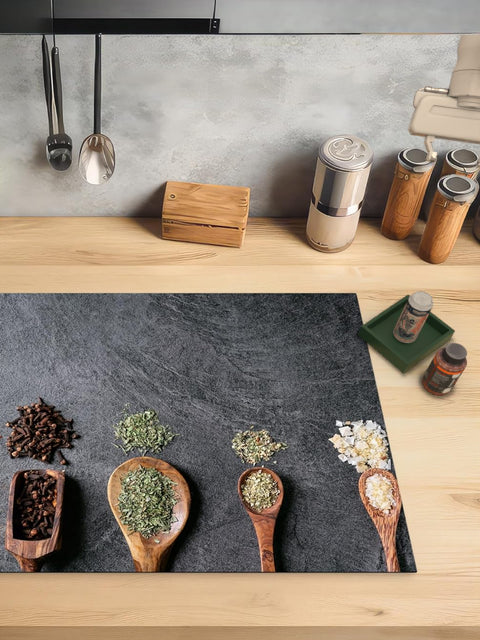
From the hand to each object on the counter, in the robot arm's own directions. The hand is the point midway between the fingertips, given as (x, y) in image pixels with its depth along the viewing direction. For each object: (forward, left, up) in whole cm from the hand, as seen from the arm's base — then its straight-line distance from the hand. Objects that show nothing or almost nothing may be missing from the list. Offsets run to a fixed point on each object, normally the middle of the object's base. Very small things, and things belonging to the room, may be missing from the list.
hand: (455, 164), depth 143 cm
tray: (+17, +13, -29) cm, 36 cm away
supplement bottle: (+21, +25, -30) cm, 44 cm away
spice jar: (+17, +13, -29) cm, 36 cm away
